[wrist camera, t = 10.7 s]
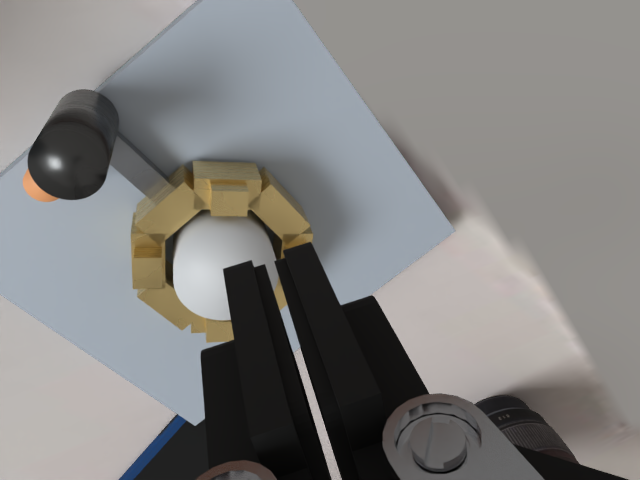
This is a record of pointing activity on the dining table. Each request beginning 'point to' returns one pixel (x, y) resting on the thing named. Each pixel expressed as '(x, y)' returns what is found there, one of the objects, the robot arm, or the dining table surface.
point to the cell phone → (173, 454)
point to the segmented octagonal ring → (158, 198)
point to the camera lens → (524, 426)
